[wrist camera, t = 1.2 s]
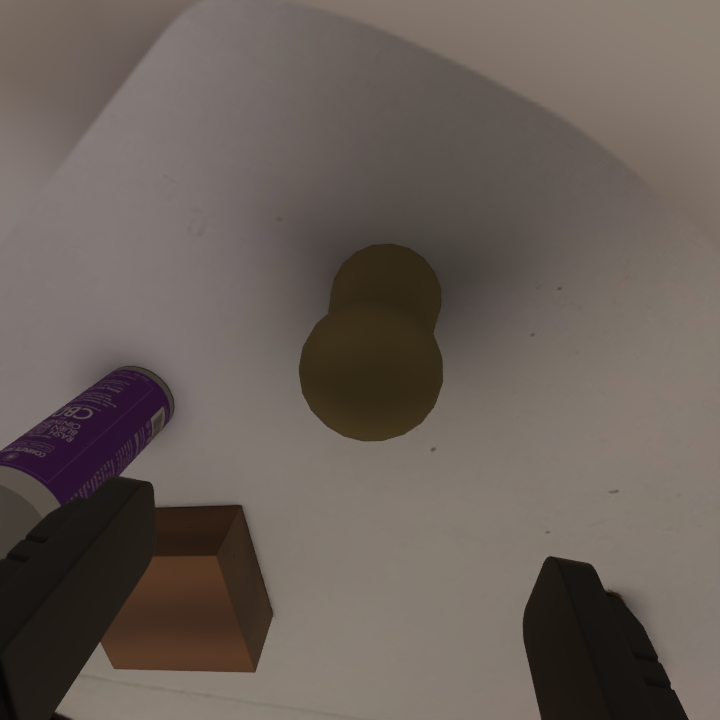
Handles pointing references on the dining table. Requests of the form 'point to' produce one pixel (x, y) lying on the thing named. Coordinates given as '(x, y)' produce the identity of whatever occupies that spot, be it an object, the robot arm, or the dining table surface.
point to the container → (79, 448)
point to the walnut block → (194, 598)
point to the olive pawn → (376, 346)
